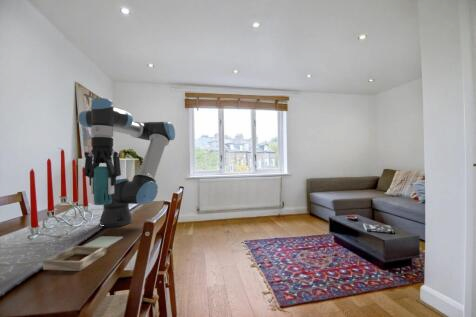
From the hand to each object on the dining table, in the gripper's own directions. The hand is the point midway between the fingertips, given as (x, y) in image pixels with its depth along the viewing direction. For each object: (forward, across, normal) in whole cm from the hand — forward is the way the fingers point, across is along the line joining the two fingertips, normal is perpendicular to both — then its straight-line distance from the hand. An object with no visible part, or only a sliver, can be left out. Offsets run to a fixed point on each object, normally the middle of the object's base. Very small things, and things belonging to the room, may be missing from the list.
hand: (102, 193), depth 89 cm
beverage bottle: (+6, 0, 0) cm, 6 cm away
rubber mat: (+20, 0, 0) cm, 20 cm away
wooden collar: (+20, +2, -16) cm, 26 cm away
